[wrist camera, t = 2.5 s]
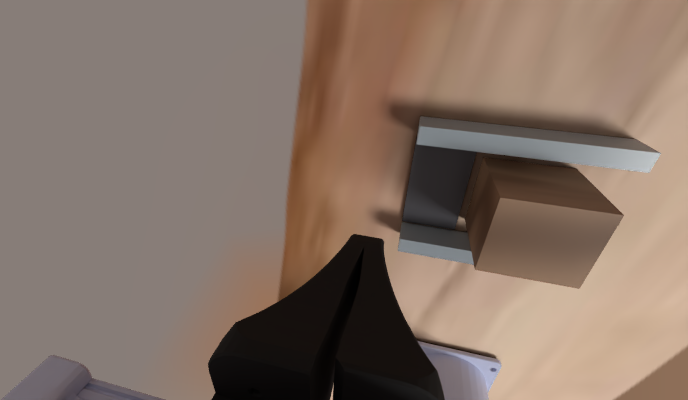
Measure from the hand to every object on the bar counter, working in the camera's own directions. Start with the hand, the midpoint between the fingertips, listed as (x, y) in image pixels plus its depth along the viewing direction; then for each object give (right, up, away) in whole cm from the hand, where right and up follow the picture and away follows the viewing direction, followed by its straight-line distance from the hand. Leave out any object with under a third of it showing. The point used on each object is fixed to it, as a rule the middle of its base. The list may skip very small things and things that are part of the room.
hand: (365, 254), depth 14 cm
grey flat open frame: (+9, +3, +6) cm, 11 cm away
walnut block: (+10, +3, +5) cm, 11 cm away
